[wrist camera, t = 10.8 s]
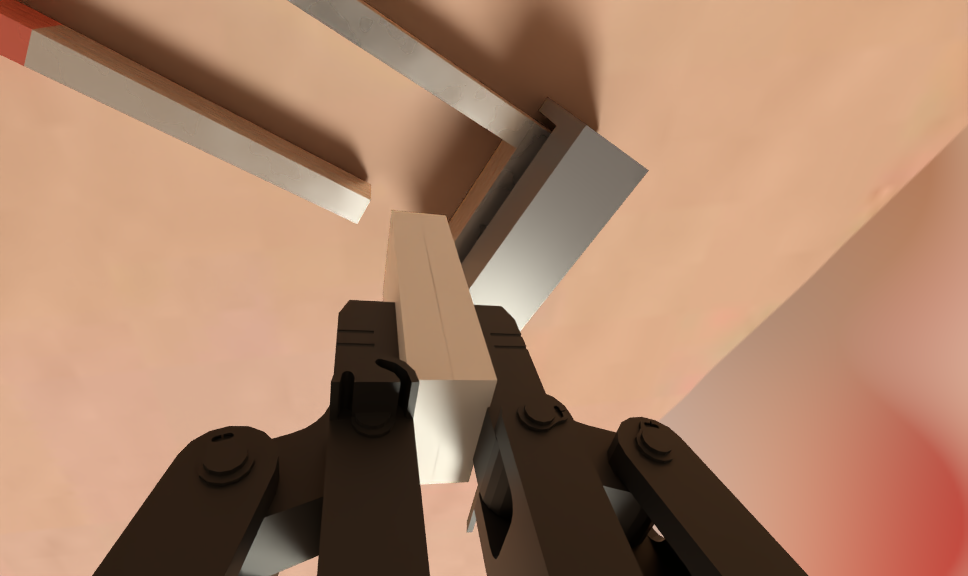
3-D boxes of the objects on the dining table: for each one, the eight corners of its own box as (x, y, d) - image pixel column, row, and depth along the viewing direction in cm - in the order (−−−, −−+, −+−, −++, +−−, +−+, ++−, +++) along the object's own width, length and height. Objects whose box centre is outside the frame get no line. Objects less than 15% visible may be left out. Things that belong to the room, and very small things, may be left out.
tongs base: (595, 161, 28) (615, 178, 26) (508, 278, 32) (518, 303, 29) (12, -242, 16) (-50, -280, 14) (-30, 13, 20) (-86, 19, 17)
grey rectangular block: (601, 136, 27) (648, 170, 22) (488, 291, 31) (507, 347, 27) (547, 96, 25) (586, 124, 21) (434, 266, 30) (446, 321, 25)
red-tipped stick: (370, 184, 26) (370, 200, 24) (358, 207, 27) (357, 223, 25) (-30, -24, 19) (-72, -23, 17) (-35, 13, 19) (-78, 18, 18)
